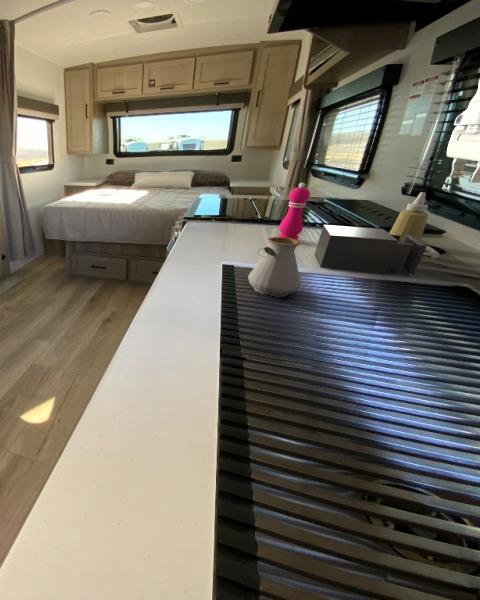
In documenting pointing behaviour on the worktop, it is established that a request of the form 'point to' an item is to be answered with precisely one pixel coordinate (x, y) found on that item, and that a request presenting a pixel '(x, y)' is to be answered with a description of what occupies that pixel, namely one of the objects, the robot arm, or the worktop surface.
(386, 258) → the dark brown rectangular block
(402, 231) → the squeeze bottle
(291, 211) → the pepper mill
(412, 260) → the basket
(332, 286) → the worktop surface
